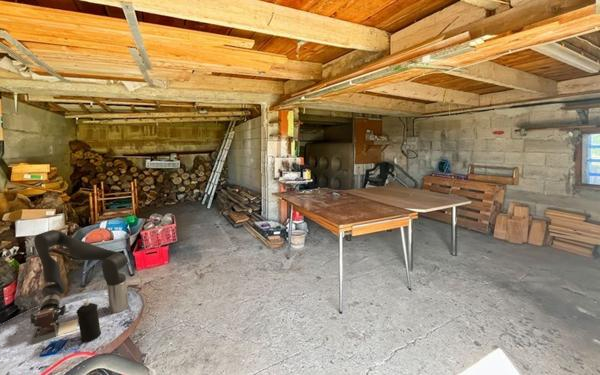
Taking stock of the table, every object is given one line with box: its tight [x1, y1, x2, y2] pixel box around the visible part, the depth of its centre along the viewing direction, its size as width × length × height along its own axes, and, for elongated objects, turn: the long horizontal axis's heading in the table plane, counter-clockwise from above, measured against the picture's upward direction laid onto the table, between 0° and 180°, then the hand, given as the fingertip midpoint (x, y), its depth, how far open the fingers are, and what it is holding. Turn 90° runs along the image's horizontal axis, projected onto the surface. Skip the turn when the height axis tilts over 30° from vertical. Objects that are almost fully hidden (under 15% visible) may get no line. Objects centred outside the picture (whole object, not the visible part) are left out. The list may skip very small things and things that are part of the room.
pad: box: [57, 318, 79, 337], centre depth 141 cm, size 8×10×1 cm
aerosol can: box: [75, 299, 102, 343], centre depth 134 cm, size 8×8×20 cm
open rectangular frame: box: [30, 321, 60, 346], centre depth 136 cm, size 9×11×3 cm
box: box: [36, 308, 58, 336], centre depth 136 cm, size 6×4×12 cm
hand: (46, 322), depth 134 cm, fingers closed on box, 6 cm apart
